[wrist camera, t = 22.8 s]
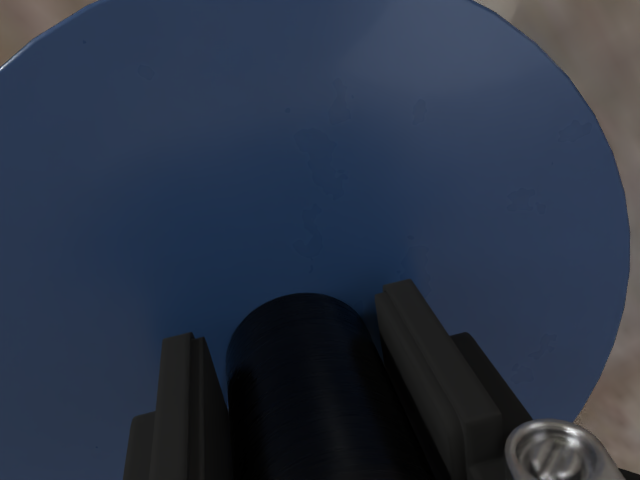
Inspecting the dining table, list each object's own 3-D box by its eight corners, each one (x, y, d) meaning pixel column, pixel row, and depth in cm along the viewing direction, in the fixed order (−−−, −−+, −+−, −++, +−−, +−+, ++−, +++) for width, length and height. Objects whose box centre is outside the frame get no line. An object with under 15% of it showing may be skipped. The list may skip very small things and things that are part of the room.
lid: (616, -115, 11) (1261, -234, 4) (586, 468, 17) (816, 771, 11) (-260, 51, 9) (-1304, 254, 3) (74, 614, 16) (-10, 1055, 9)
